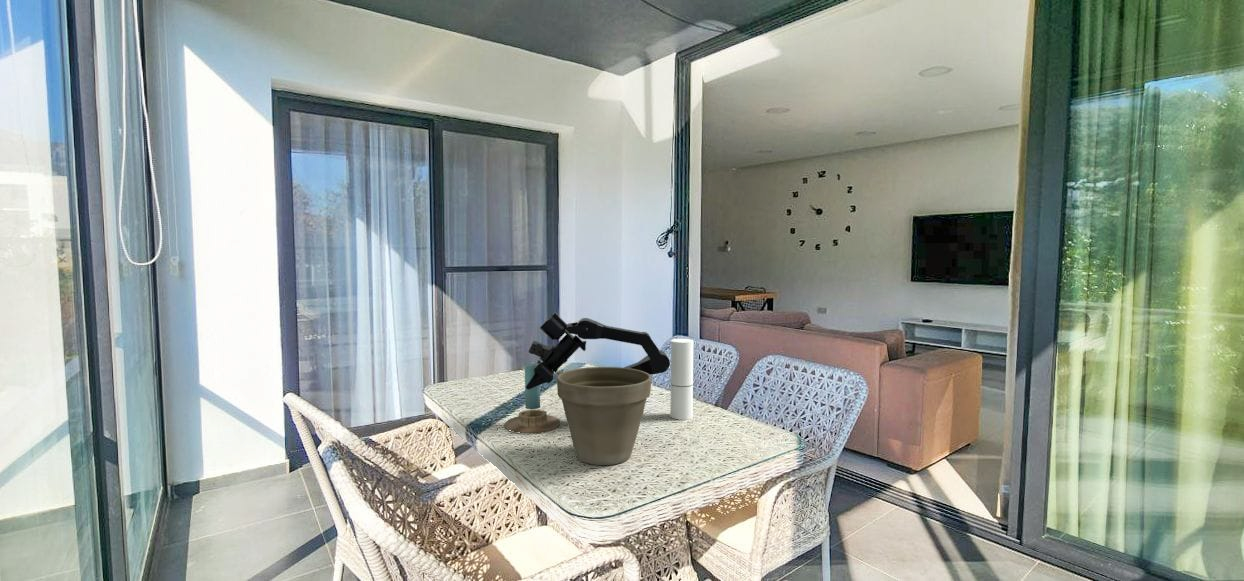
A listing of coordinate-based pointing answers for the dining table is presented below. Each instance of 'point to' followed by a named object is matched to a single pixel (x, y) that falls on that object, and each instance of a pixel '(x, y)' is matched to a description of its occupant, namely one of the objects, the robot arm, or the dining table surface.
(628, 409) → the plant pot
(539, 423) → the walnut stand
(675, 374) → the cylindrical container
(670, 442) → the dining table surface
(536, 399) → the teal peg
